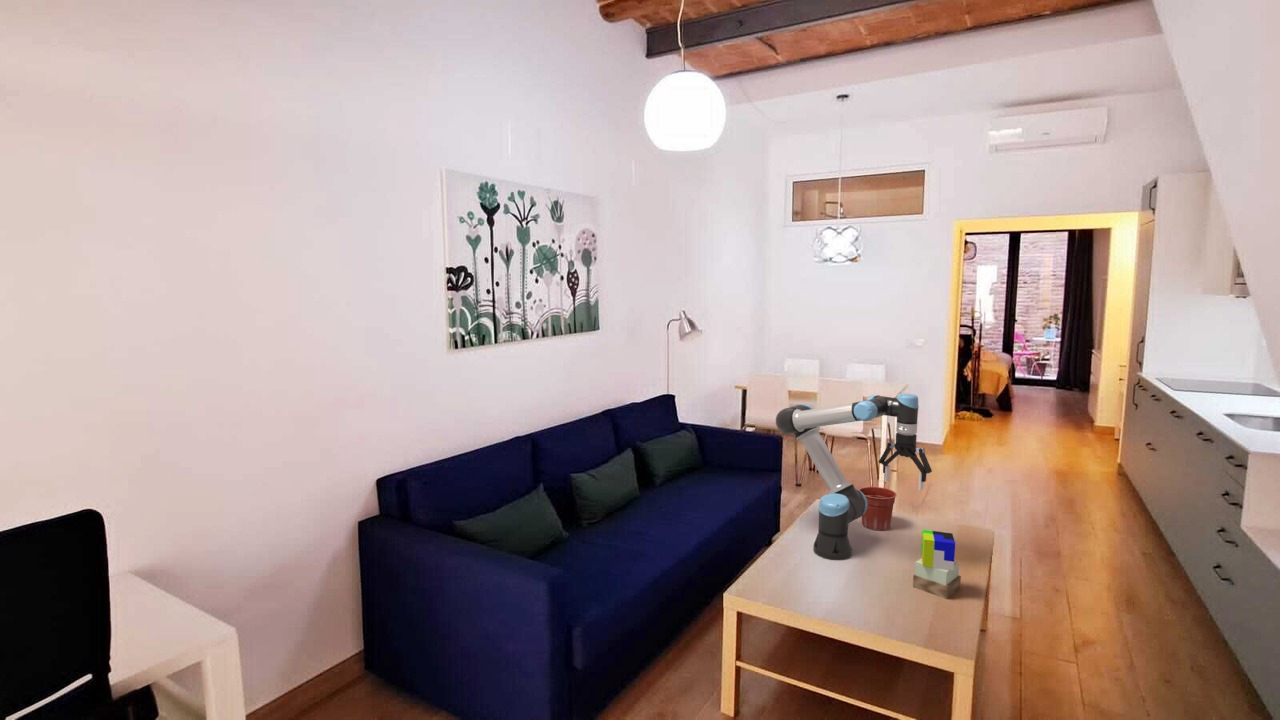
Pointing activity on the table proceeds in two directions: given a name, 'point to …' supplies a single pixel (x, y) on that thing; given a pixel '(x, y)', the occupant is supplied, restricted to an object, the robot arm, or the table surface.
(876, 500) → the flower pot
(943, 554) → the puzzle toy
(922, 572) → the top slab
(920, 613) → the table surface
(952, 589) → the bottom slab
